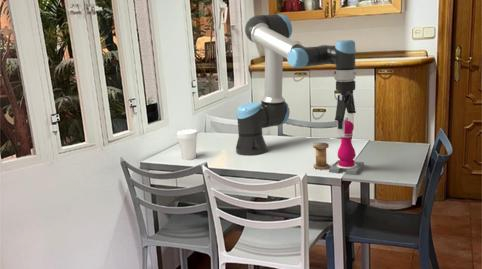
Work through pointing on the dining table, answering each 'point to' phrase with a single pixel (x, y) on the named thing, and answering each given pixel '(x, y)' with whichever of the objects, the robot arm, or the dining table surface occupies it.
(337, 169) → the notched board
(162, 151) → the dining table surface
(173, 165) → the dining table surface
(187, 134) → the foam cup
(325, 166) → the bobbin
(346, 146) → the pepper mill
